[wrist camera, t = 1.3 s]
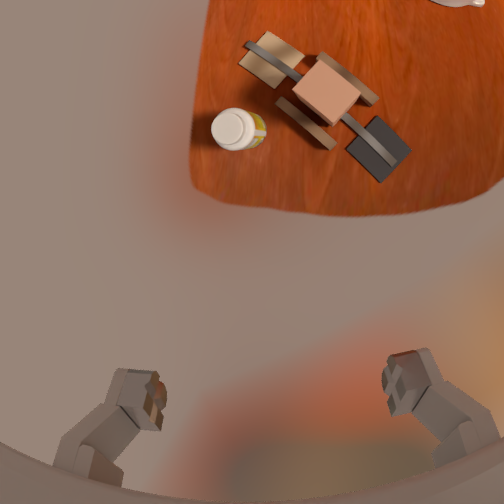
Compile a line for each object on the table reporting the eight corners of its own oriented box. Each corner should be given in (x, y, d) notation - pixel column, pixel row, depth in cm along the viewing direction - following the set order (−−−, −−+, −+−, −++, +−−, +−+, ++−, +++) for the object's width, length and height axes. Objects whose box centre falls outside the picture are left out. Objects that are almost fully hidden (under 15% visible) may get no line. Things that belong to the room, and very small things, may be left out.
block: (354, 102, 36) (361, 92, 28) (332, 127, 38) (333, 123, 30) (321, 75, 36) (319, 59, 28) (299, 100, 38) (292, 89, 30)
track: (416, 139, 36) (420, 139, 34) (370, 188, 41) (372, 191, 39) (269, 20, 35) (266, 14, 33) (226, 68, 39) (221, 65, 37)
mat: (304, 56, 36) (304, 55, 36) (274, 89, 39) (274, 88, 39) (267, 31, 36) (267, 30, 35) (239, 63, 39) (238, 63, 38)
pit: (411, 150, 37) (411, 150, 37) (380, 182, 40) (381, 183, 40) (377, 115, 37) (377, 115, 36) (346, 149, 40) (346, 149, 39)
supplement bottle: (236, 108, 41) (211, 101, 32) (271, 118, 41) (255, 111, 31) (227, 143, 44) (199, 144, 34) (261, 153, 43) (242, 156, 34)
